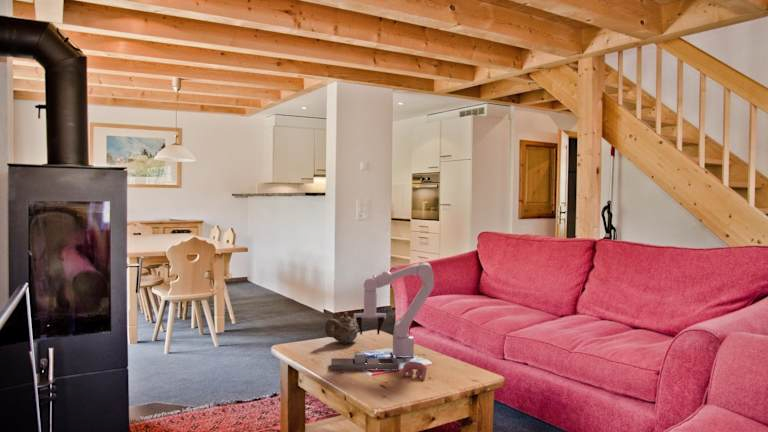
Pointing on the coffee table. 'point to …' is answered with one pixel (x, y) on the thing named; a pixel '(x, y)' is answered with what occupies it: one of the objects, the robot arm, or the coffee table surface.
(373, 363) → the rail
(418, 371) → the video game controller
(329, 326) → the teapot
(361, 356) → the peg
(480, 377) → the coffee table surface
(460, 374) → the coffee table surface
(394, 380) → the coffee table surface
